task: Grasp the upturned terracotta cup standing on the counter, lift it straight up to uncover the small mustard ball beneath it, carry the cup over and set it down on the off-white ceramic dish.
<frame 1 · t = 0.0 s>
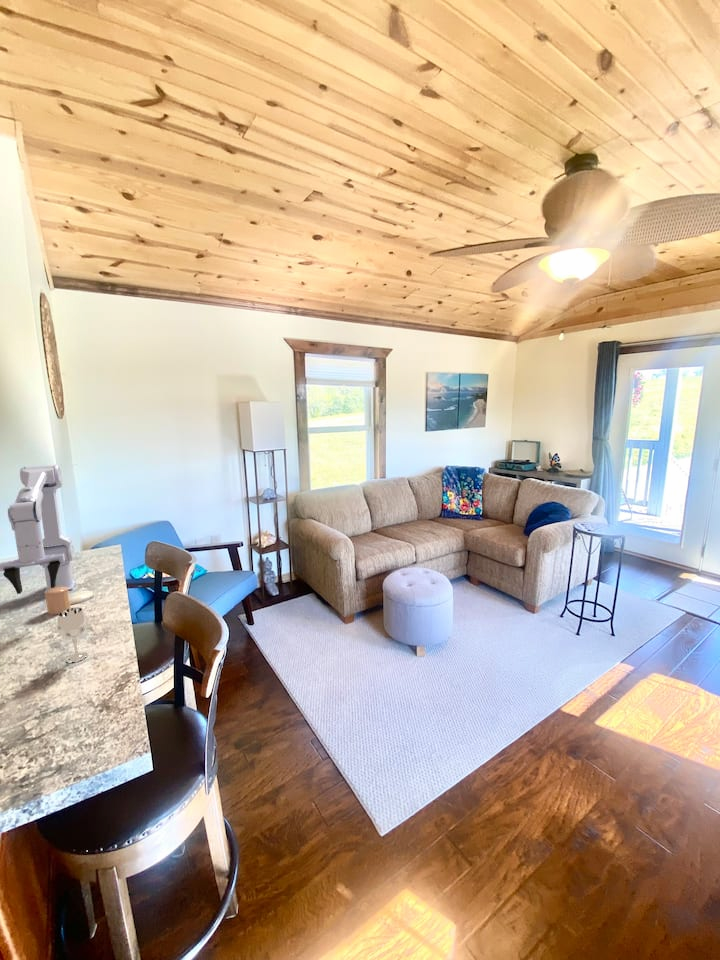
hand: (36, 589, 114), 10 cm above the countertop, tool pointing down, fingers open, 7 cm apart
wineglass: (77, 658, 97), on the countertop
cup: (59, 610, 123), on the countertop
ball: (58, 605, 123), in the cup
dish: (76, 598, 131), on the countertop
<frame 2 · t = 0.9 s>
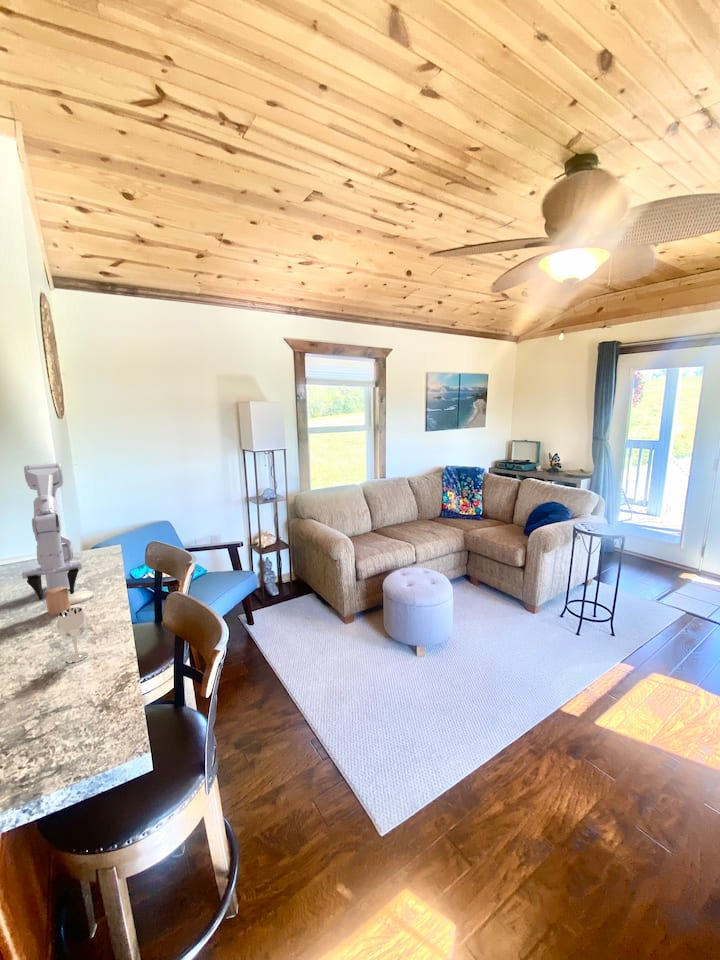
hand: (57, 595, 122), 5 cm above the countertop, tool pointing down, fingers open, 7 cm apart
nothing on the countertop moved.
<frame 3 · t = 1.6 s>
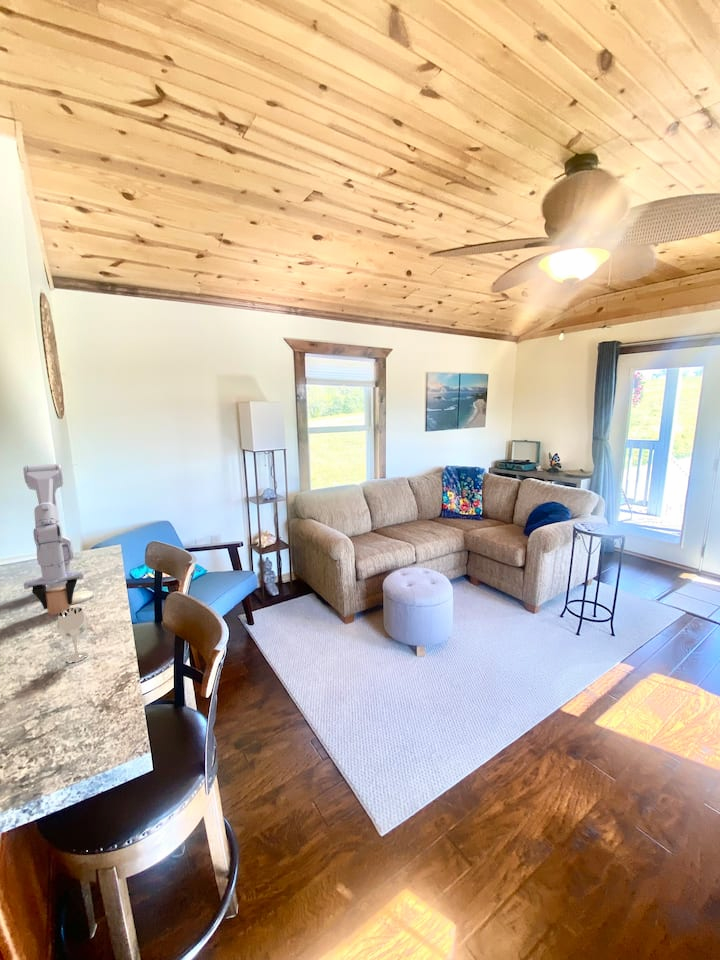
hand: (58, 605, 123), 2 cm above the countertop, tool pointing down, fingers closed on cup, 5 cm apart
cup: (59, 610, 123), on the countertop, touching gripper
everything else where it was.
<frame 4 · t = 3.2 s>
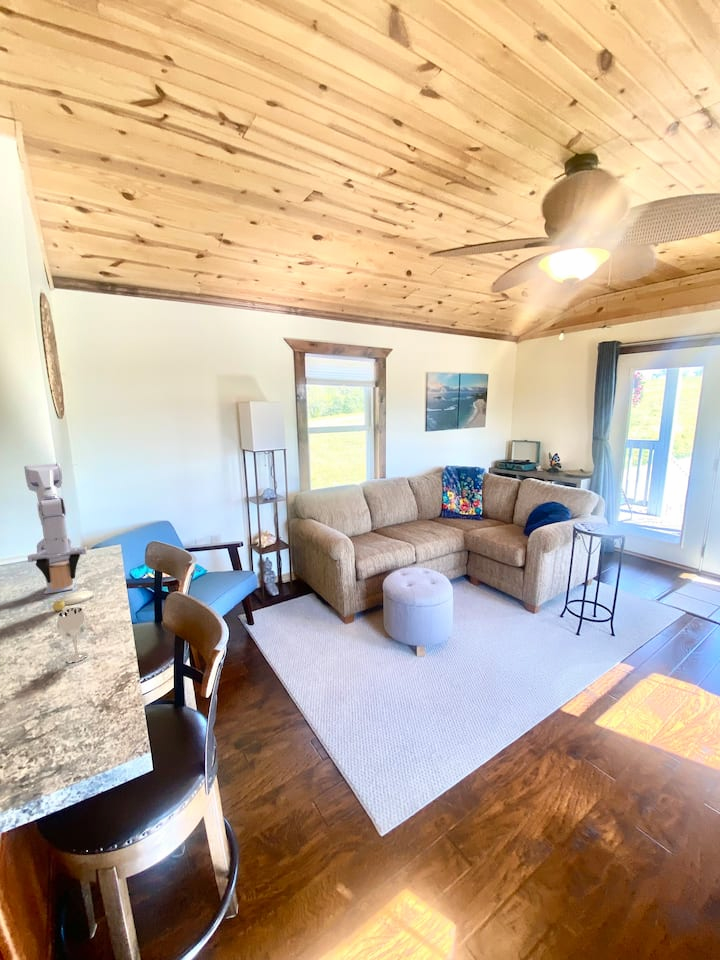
hand: (61, 579, 124), 9 cm above the countertop, tool pointing down, fingers closed on cup, 5 cm apart
cup: (62, 585, 125), point 7 cm above the countertop, touching gripper
everything else where it was.
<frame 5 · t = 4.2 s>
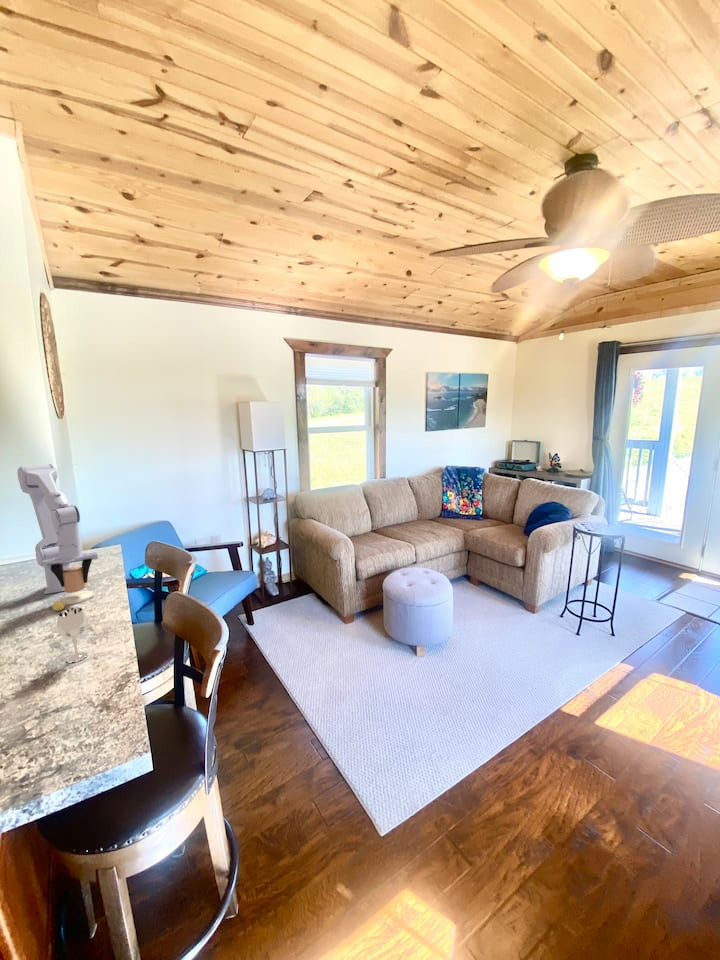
hand: (74, 583, 130), 5 cm above the countertop, tool pointing down, fingers closed on cup, 5 cm apart
cup: (75, 588, 130), point 3 cm above the countertop, touching gripper
everything else where it was.
when the fingers open (4 cm above the countertop, at t = 4.9 s): cup drops 2 cm, resting on dish.
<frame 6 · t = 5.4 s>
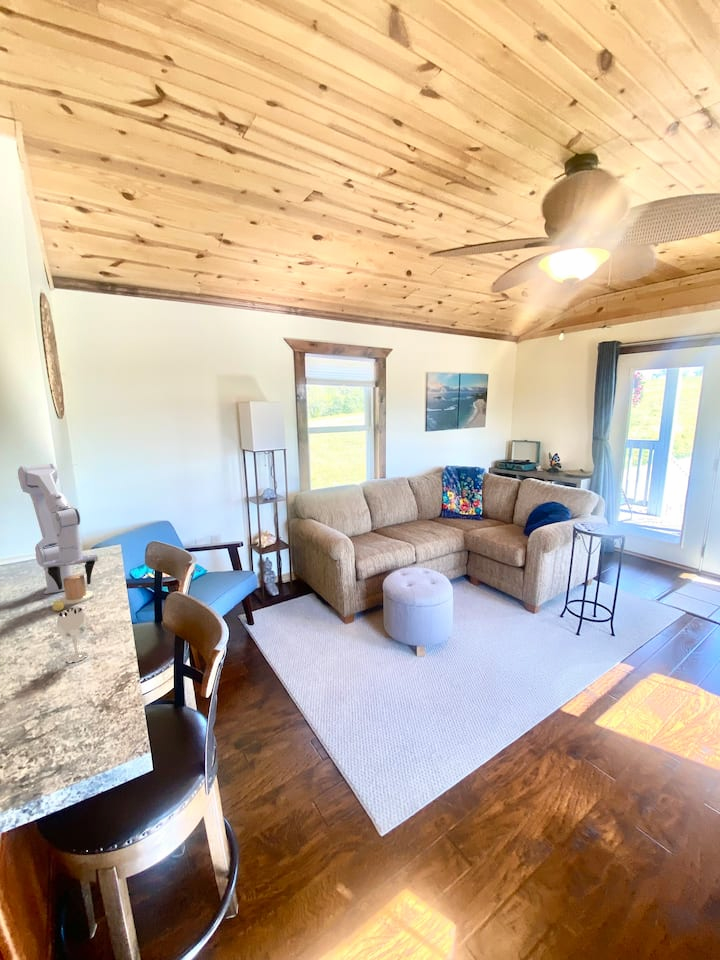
hand: (75, 585, 130), 4 cm above the countertop, tool pointing down, fingers open, 7 cm apart
cup: (76, 596, 131), point 1 cm above the countertop, touching dish
everything else where it was.
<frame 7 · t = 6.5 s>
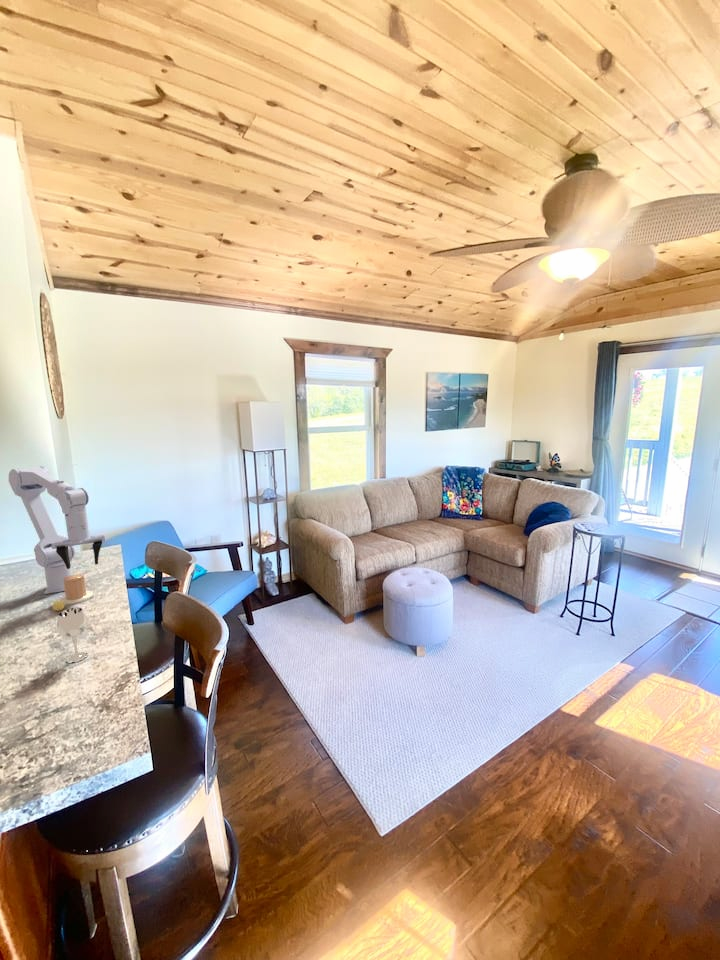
hand: (82, 565, 132), 10 cm above the countertop, tool pointing down, fingers open, 7 cm apart
nothing on the countertop moved.
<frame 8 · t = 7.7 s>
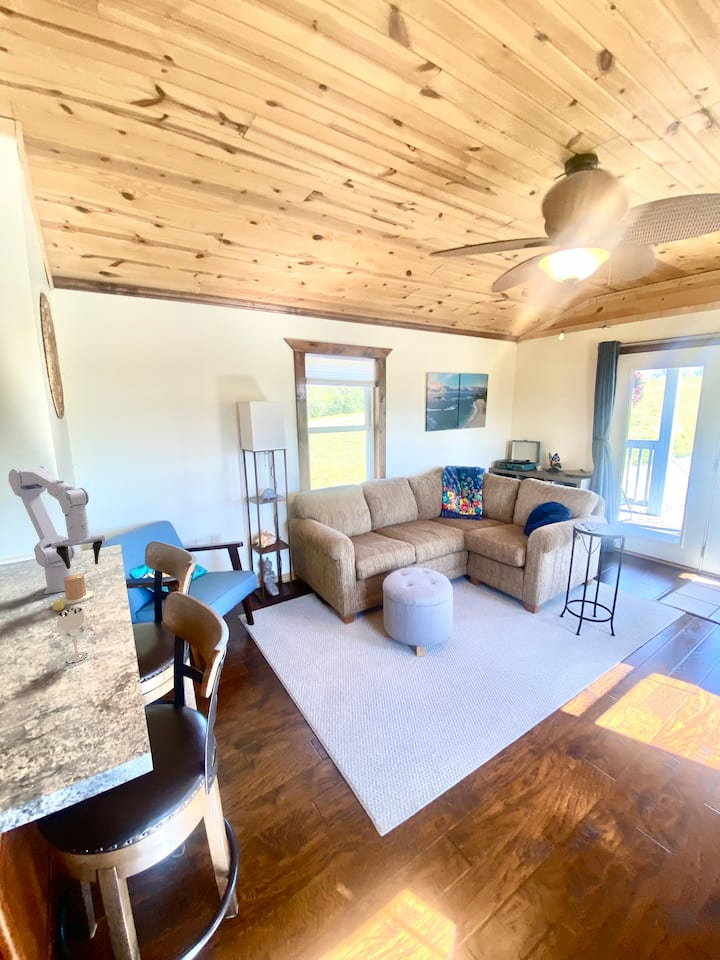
hand: (82, 565, 132), 10 cm above the countertop, tool pointing down, fingers open, 7 cm apart
nothing on the countertop moved.
at the end: cup 0.1 cm off-centre on the dish, point 0.8 cm above the dish's base; cup tilted 0°; the gripper is holding nothing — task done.
